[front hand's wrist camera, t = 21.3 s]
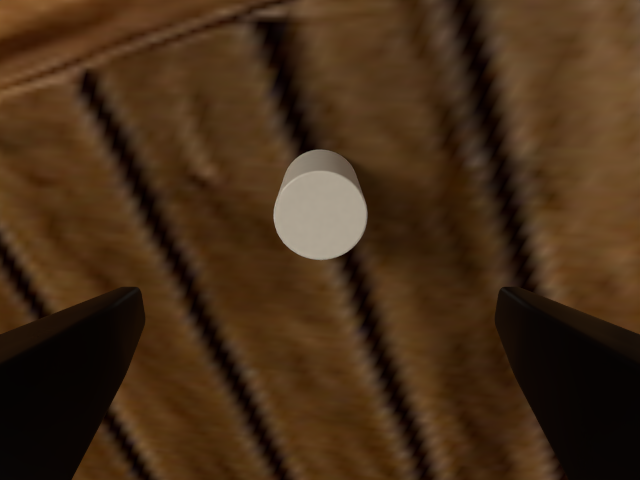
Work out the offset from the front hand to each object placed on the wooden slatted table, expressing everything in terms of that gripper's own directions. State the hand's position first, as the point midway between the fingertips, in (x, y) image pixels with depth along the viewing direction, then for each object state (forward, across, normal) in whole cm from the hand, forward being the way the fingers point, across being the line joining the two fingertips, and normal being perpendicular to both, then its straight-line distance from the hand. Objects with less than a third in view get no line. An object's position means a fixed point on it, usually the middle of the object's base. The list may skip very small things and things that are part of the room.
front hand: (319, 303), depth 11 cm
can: (+12, 0, 0) cm, 12 cm away
